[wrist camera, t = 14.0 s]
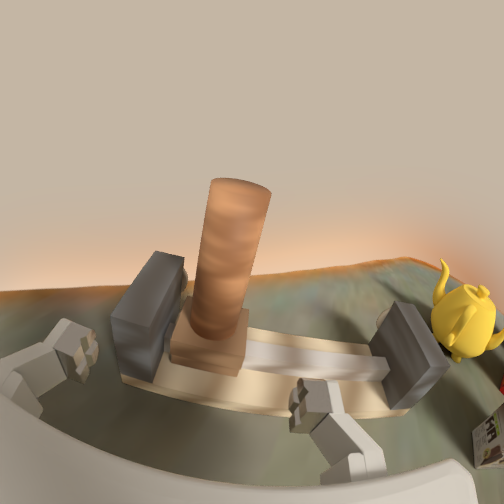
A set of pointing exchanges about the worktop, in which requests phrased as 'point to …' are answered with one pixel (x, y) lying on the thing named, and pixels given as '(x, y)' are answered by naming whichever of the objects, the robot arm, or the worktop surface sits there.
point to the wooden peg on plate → (221, 280)
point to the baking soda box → (502, 386)
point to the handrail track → (265, 384)
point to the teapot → (464, 319)
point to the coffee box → (490, 441)
